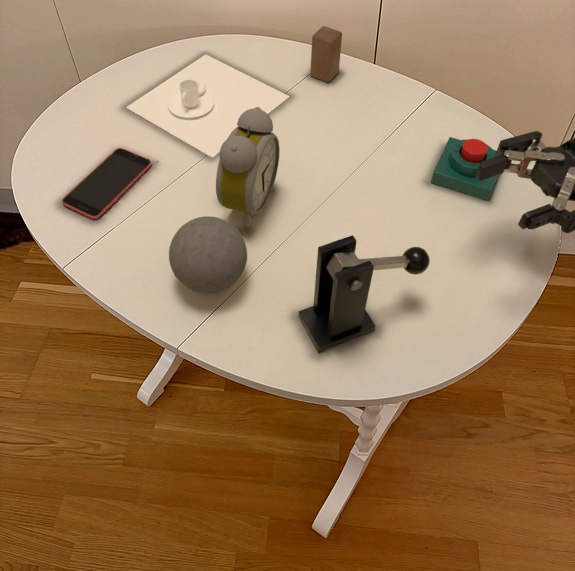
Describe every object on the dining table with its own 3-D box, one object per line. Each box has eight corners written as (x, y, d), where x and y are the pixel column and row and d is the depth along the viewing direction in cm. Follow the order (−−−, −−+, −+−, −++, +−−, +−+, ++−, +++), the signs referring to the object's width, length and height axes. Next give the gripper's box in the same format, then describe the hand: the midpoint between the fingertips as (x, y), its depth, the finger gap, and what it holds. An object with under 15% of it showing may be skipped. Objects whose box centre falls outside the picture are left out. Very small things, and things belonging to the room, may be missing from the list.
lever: (411, 259, 76) (425, 240, 74) (425, 279, 74) (440, 260, 72) (321, 266, 68) (333, 245, 66) (335, 288, 67) (347, 268, 64)
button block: (501, 163, 95) (509, 144, 92) (487, 200, 90) (495, 181, 87) (446, 147, 97) (452, 127, 94) (430, 182, 92) (435, 163, 89)
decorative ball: (163, 266, 82) (151, 216, 74) (229, 240, 85) (224, 190, 77) (192, 320, 77) (182, 273, 69) (261, 290, 80) (259, 242, 72)
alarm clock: (252, 239, 85) (248, 160, 73) (209, 227, 86) (197, 147, 74) (280, 185, 92) (281, 103, 79) (239, 174, 93) (233, 92, 81)
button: (487, 151, 91) (490, 142, 90) (481, 166, 89) (484, 157, 88) (464, 144, 92) (466, 135, 90) (457, 159, 90) (460, 150, 89)
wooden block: (328, 83, 106) (331, 42, 100) (309, 76, 108) (311, 35, 101) (339, 72, 108) (343, 31, 102) (320, 65, 110) (323, 24, 103)
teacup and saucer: (193, 82, 106) (190, 62, 103) (227, 100, 103) (225, 80, 100) (158, 107, 102) (153, 86, 99) (191, 126, 99) (188, 106, 96)
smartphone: (154, 161, 93) (95, 219, 86) (154, 163, 94) (96, 221, 87) (118, 146, 95) (58, 201, 88) (119, 148, 96) (59, 204, 88)
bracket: (352, 295, 80) (364, 226, 68) (374, 330, 76) (390, 264, 65) (298, 316, 78) (301, 248, 66) (318, 353, 74) (325, 288, 63)
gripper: (581, 100, 75) (473, 134, 71) (665, 173, 67) (550, 217, 63) (558, 146, 81) (457, 180, 77) (633, 218, 73) (526, 260, 69)
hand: (499, 197), depth 70 cm, fingers open, 8 cm apart
